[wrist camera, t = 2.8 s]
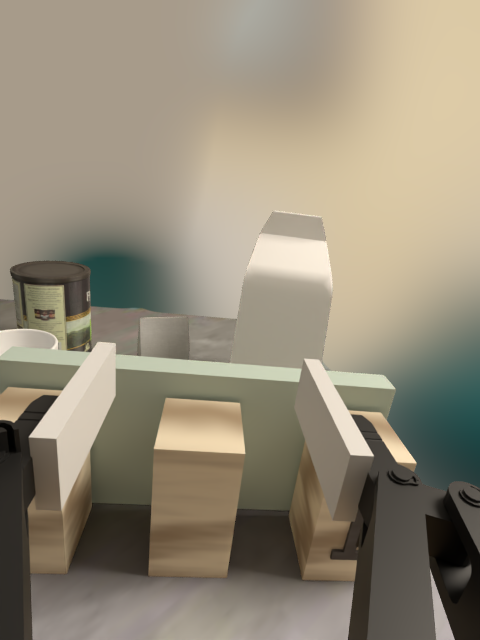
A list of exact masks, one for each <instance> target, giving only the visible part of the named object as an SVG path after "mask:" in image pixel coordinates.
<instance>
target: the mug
mask: <svg viewBox="0 0 480 640" xmlns="http://www.w3.org/2000/svg"><path fill="white" fill-rule="evenodd" d="M12 346H16V347H28V348H41V349H54V350H58V340H57V338H56V337H55V336H54V335H53V334H51V333H48V332H45V331H41V330H35V329H11V330H3V331H0V356H1V355H2V354H3V353H5V352H6V351H7V350H8V349H10V348H11V347H12Z"/></svg>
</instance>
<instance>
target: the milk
mask: <svg viewBox="0 0 480 640" xmlns="http://www.w3.org/2000/svg"><path fill="white" fill-rule="evenodd" d="M325 241H326V237H325V232H324V227H323V222H322V217H320V216H312V215H304V214H296V213H289V212H281V211H273V212H272V214H271V216H270V217H269V219H268V221H267V222H266V224H265V226H264V227H263V229H262V231H261V233H260V234H259V237H258V239H257V242H256V244H255V247H254V249H253V252H252V255H251V258H250V261H249V264H248V267H247V270H246V274H245V278H244V282H243V287H242V294H241V299H240V305H239V311H238V317H237V323H236V329H235V335H234V341H233V347H232V353H231V359H230V363H233V364H246V365H259V366H272V367H285V368H297V369H302V364H303V359H316V360H320V362H321V364H322V357H323V351H324V345H325V338H326V331H327V325H328V319H329V313H330V306H331V300H332V290H333V287H332V286H333V285H332V274H331V268H330V262H329V255H328V248H327V243H326V242H325Z"/></svg>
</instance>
